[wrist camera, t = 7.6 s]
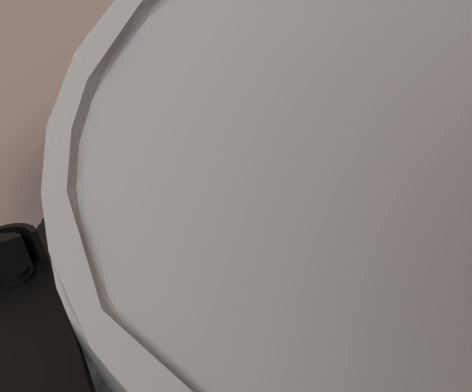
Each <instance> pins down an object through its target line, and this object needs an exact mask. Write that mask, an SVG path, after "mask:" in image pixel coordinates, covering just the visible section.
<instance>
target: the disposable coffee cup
mask: <svg viewBox="0 0 472 392" xmlns="http://www.w3.org/2000/svg"><path fill="white" fill-rule="evenodd" d="M41 198H42V206H43V214H44V221H45V229H46V236H47V244H48V251H49V254H50V257H51V263H52V268H53V273H54V278H55V284H56V288H57V291H58V293H59V295H60V298H61V300H62V303H63V305H64V308H65V310H66V313H67V315H68V318H69V320H70V322H71V325H72V327H73V330H74V332H75V335H76V337H77V340H78V342H79V343H80V345H81V346H82V348H83V349H84V351H85V352H86V354H87V355H88V357H89V358H90V360H91V361H92V363H93V364H94V366H95V367H96V369H97V370H98V372H99V373H100V375H101V376H102V378H103V379H104V381H105V382H106V384H107V385H108V387H109V388H110V389H111V390H112V391H113V392H472V0H115V1H114V2H113V3H112V5H111V6H110V7H109V8H108V10H107V11H106V12H105V14H104V15H103V16H102V18H101V19H100V20H99V21H98V23H97V24H96V25H95V27H94V28H93V29H92V30H91V32H90V33H89V34H88V36H87V37H86V38H85V39H84V41H83V42H82V43H81V45H80V46H79V47H78V49H77V50H76V51H75V54H74V56H73V59H72V62H71V64H70V66H69V69H68V72H67V74H66V77H65V79H64V82H63V84H62V87H61V90H60V93H59V95H58V97H57V100H56V103H55V105H54V108H53V110H52V113H51V116H50V118H49V121H48V123H47V128H46V140H45V151H44V162H43V174H42V185H41Z"/></svg>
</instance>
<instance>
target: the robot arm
mask: <svg viewBox="0 0 472 392" xmlns="http://www.w3.org/2000/svg"><path fill="white" fill-rule="evenodd" d="M0 392H96V391H95V388H94V385H93V382H92V379H91V376H90V373H89V370H88V367H87V363H86V360H85V357H84V354H83V352H82V349H81V346H80V344H79V342H78V340H77V337H76V335H75V332H74V330H73V327H72V325H71V322H70V320H69V318H68V315H67V313H66V310H65V308H64V305H63V303H62V300H61V298H60V295H59V293H58V291H57V288H56V284H55V278H54V273H53V268H52V263H51V257H50V254H49V251H48V244H47V236H46V229H45V221H44V217H43V219H42V223H40V224H39V226H38V227H37V229H36V228H35V227H34V226H33V225H29V224H25V223H13V224H8V225H3V226H0Z"/></svg>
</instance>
